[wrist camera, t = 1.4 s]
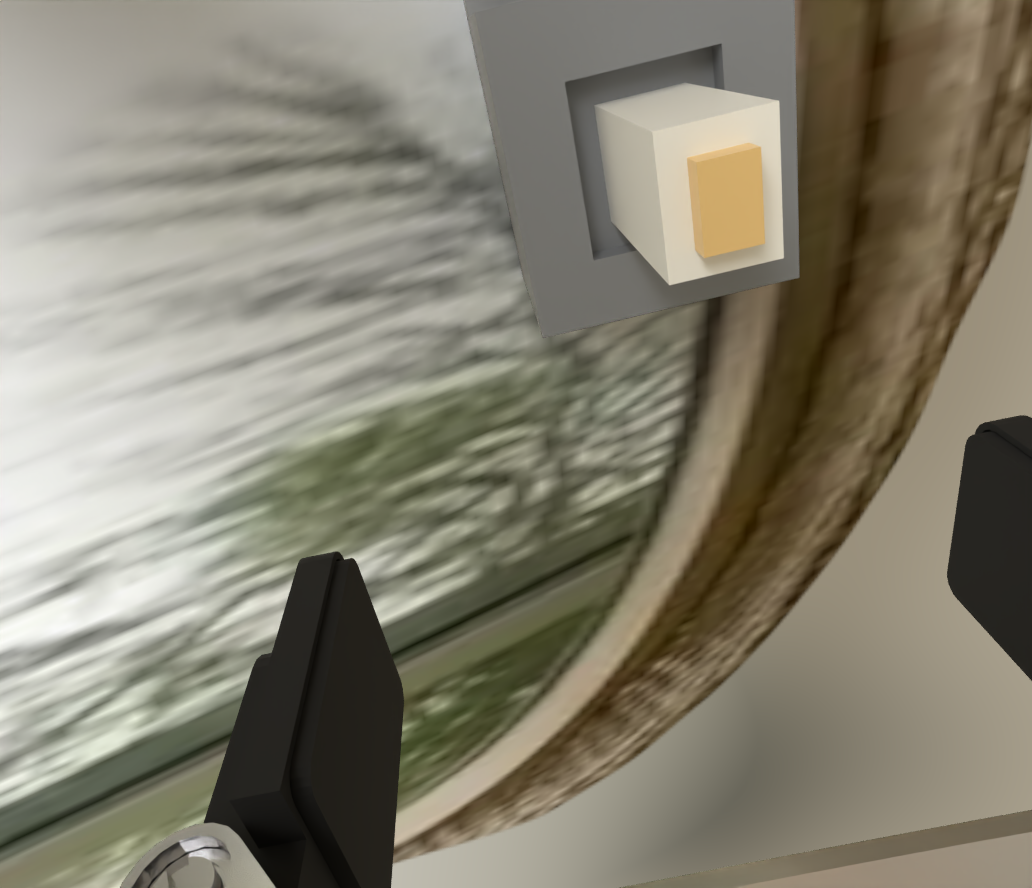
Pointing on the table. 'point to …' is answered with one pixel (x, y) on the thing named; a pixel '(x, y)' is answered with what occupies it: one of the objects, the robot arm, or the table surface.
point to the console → (575, 141)
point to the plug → (694, 178)
